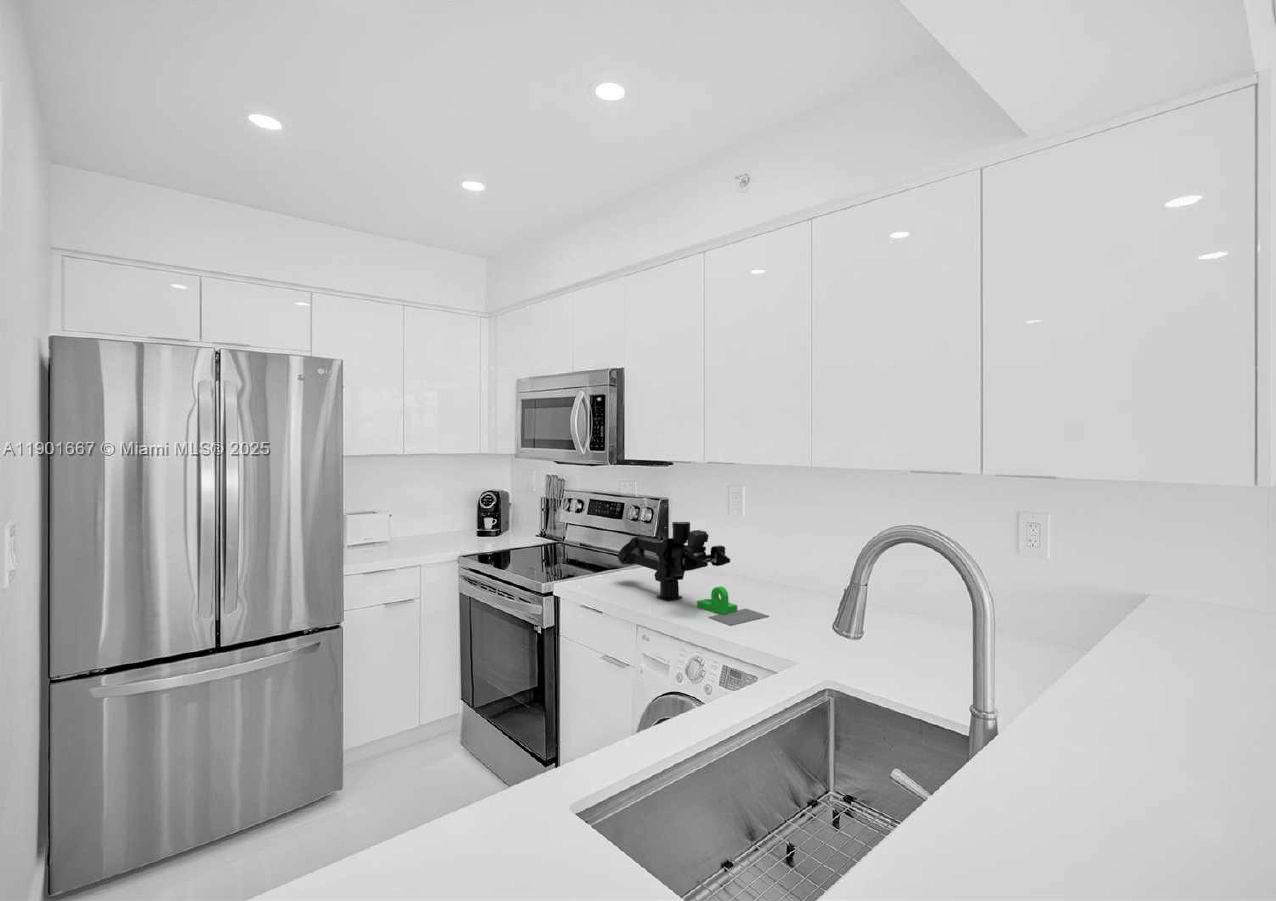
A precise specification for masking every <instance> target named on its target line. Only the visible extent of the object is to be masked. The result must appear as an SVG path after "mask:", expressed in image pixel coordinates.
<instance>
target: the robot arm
mask: <svg viewBox="0 0 1276 901" xmlns="http://www.w3.org/2000/svg"><path fill="white" fill-rule="evenodd" d="M671 526H672V527H671V528H672V537H669V538H665V540H663V541H662V540H657V539H653V538H649V537H646V536H643V535H641V536H634V537H631V539H630V540H629V541H628V542H627V543H626V544H624V545H623V546H622V548H621V549H620V550H619V552H618V554H617V559H618V561H619V563H620V564H621V565H638V566H641V567H644V568H647V569H651V570H654V571H656V572H655V573H654V578H655V581H656V582H659V589H660V590H659V591H660V592H659V594H657V595H656V598H658V597H659V599H661V598H662V600H663V599H664V601H667V602H669V601H674V600H679V599H683V596H681V595H680V593H679V592H680V590H679V589H680V586H679V581H680V580H681V581H682V580H683V579H684V576H685V572H689V571H695V570H697V569H701V568H705V567H708V566H709V563H710V564H711V566H714V567H720V566H725V565H727V564H730V563H731V558H730V557H728V555H726V547H725V545H713V546H711V547H710V553H709V554H707V552H706V550H707V547H706V546H705V543H707V542H708V540H709V537H710V536H709V533H707V531H704V530H700V529H698V530H697V529H696V530H695V529H694V530H691V522H689V521H672V525H671ZM646 551H648V552H651V553H654V554H655V555H656V556H654V555H651V554H647V553H645V552H646Z"/></svg>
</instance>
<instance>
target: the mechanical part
mask: <svg viewBox="0 0 1276 901" xmlns="http://www.w3.org/2000/svg"><path fill="white" fill-rule="evenodd" d="M710 595H711V596H710V598H704V599H700V600H696V607H697V608H699V609H702V608H703V609H702V610H705V609H706V611H709V612H713V613H716V614H723V615H725V614H729V613H733V612H737V610H738V604H734V603H731V602H729V593H728V591H727V589H726V588H725V587H724V586H716V587H714V588H712V590H711V592H710Z"/></svg>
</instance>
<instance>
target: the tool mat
mask: <svg viewBox="0 0 1276 901" xmlns="http://www.w3.org/2000/svg"><path fill="white" fill-rule="evenodd" d="M768 616H769V615H767V614H764V613H761V612H759V611H755V610H751V609H749V608H741V609H737V612H733V613H729V614H725V615H723V614H720V613H718V614H716V615H715V614H714V615H710V616H708V618H709V619H711V620H713V619H714V620H713V621H717V622H720V623H722V624H725V625H728V626H730V627H732V626H736V625H739V624H744V623H747V622H748V621H749V622H752V621H751V620H753V621H756V620H755V619H757V620H761V619H765V618H769V617H768ZM731 625H732V626H731Z"/></svg>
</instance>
